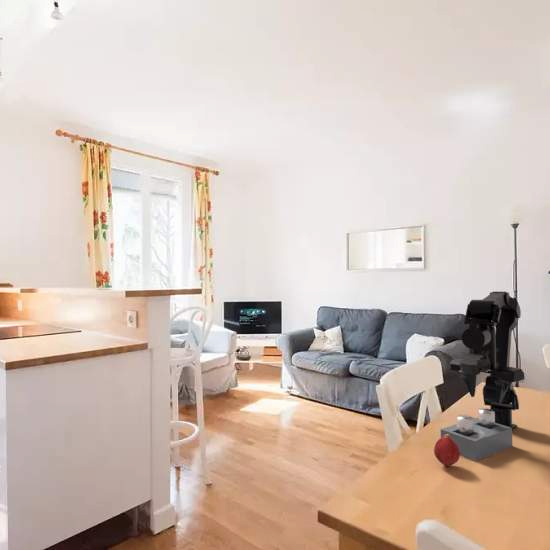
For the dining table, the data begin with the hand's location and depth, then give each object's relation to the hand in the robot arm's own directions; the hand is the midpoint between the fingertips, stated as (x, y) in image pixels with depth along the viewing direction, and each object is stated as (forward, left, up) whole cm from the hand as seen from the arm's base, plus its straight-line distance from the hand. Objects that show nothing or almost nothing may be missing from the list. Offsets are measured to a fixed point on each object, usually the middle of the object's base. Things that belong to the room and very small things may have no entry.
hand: (485, 400), depth 113 cm
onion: (+22, +3, -12) cm, 25 cm away
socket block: (+5, 0, -12) cm, 13 cm away
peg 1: (+10, 0, -8) cm, 13 cm away
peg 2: (0, 0, -8) cm, 8 cm away
